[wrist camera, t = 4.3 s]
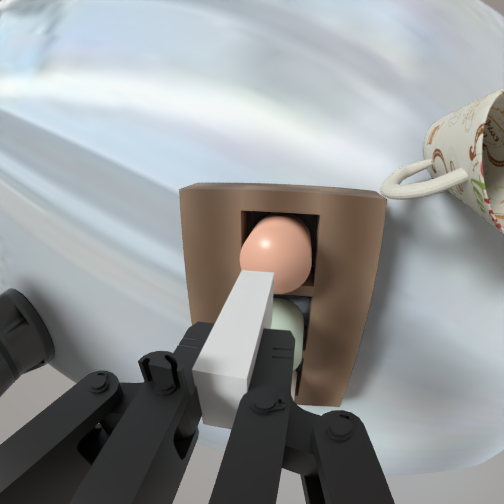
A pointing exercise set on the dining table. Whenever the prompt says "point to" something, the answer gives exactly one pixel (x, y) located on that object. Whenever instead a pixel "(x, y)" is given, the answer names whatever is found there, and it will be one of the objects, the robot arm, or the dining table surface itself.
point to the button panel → (318, 281)
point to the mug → (462, 160)
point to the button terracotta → (279, 250)
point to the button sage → (289, 323)
